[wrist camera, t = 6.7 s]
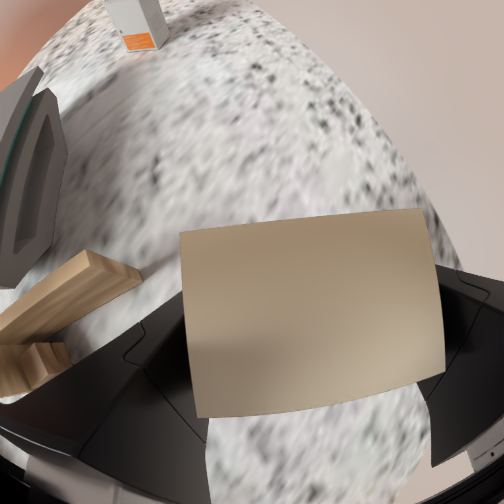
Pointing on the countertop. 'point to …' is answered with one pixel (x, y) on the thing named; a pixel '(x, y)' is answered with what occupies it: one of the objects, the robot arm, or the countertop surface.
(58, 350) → the offcut lower
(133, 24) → the skincare box
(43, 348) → the offcut upper
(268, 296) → the pale wood block
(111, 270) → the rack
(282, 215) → the countertop surface
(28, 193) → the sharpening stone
